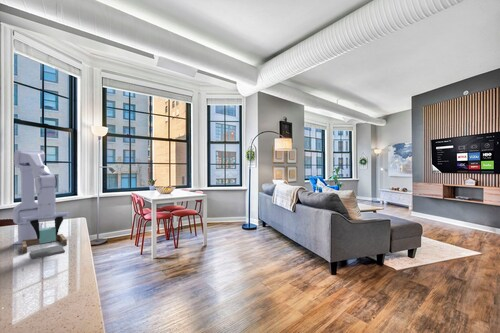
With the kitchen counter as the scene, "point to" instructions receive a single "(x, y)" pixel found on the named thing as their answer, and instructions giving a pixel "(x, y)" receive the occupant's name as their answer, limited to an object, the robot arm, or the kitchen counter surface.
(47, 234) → the teal block
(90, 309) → the kitchen counter surface
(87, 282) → the kitchen counter surface
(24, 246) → the brown u-shaped bracket
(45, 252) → the charcoal mat
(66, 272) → the kitchen counter surface
